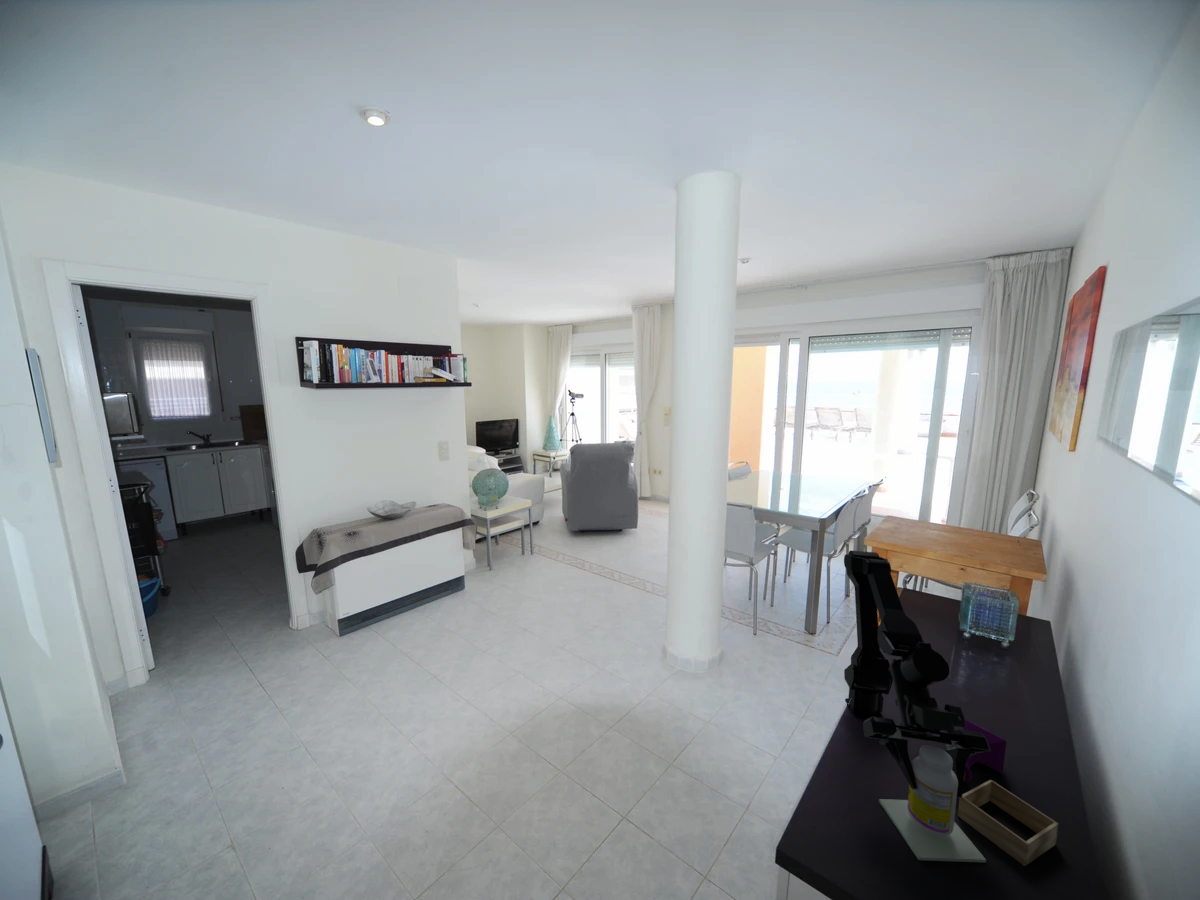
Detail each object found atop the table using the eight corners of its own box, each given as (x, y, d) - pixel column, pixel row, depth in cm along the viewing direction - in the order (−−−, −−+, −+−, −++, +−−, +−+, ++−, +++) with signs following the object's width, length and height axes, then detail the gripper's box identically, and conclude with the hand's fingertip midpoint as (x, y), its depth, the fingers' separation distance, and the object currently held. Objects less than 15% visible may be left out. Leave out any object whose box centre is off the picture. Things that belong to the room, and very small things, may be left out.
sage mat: (918, 860, 74) (919, 857, 74) (878, 801, 85) (879, 799, 85) (985, 862, 74) (986, 859, 74) (937, 803, 85) (937, 801, 85)
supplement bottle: (920, 798, 84) (926, 735, 83) (961, 829, 78) (969, 761, 77) (898, 812, 81) (905, 747, 80) (939, 844, 75) (946, 775, 74)
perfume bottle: (1009, 768, 94) (968, 805, 85) (966, 744, 100) (924, 776, 91) (1013, 735, 93) (972, 769, 84) (969, 713, 99) (927, 743, 91)
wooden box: (1024, 866, 73) (1027, 844, 73) (957, 815, 82) (959, 795, 82) (1055, 844, 77) (1058, 823, 77) (988, 798, 86) (990, 779, 86)
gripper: (873, 676, 83) (894, 780, 73) (990, 692, 79) (1027, 803, 69) (855, 689, 91) (871, 783, 82) (960, 703, 87) (989, 804, 78)
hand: (936, 793), depth 78 cm, fingers closed on supplement bottle, 6 cm apart
